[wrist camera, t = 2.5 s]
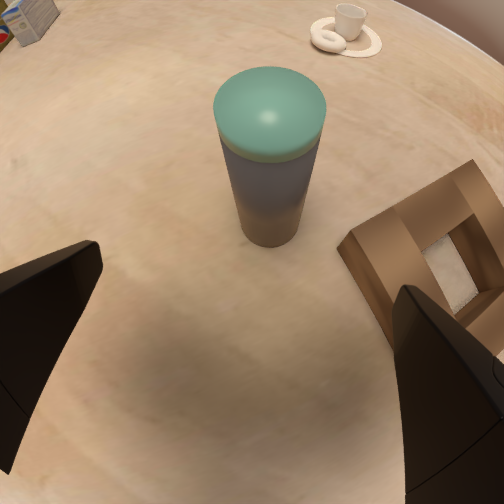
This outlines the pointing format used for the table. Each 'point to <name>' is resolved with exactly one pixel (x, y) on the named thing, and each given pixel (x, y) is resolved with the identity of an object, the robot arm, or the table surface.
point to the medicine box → (30, 19)
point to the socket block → (423, 235)
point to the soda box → (4, 28)
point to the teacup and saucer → (344, 32)
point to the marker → (269, 147)
